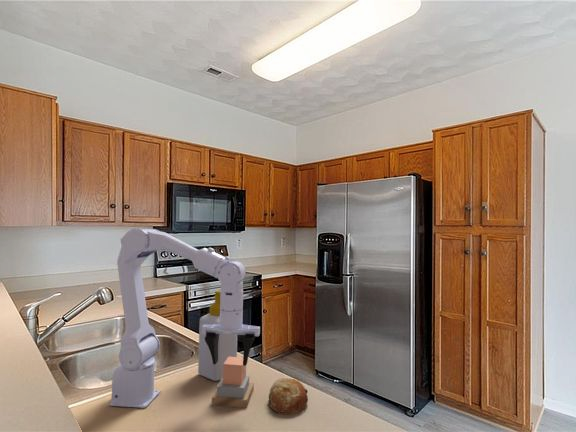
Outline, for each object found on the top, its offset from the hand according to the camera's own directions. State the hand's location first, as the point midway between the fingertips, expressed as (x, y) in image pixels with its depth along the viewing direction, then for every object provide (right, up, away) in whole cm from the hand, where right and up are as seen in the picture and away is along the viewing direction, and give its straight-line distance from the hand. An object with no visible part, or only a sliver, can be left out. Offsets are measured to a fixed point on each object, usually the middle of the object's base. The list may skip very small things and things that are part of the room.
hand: (230, 363), depth 83 cm
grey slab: (0, -9, +4) cm, 10 cm away
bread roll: (+15, -11, +1) cm, 18 cm away
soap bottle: (-7, -11, +18) cm, 22 cm away
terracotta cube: (0, -6, +4) cm, 8 cm away
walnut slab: (0, -11, +4) cm, 12 cm away
